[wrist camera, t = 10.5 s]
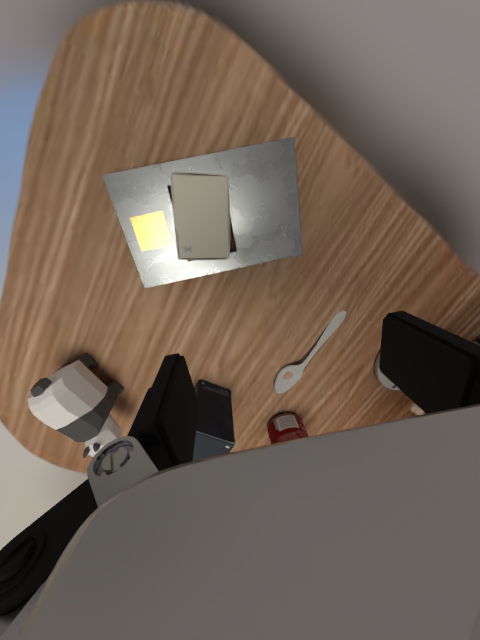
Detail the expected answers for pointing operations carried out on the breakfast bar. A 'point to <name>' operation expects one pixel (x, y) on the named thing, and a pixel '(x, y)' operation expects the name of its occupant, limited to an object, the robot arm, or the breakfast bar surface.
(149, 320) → the breakfast bar surface
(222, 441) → the small box
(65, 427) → the giant panda
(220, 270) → the grey slotted base block
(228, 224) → the skincare box
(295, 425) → the soda can
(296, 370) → the spoon
